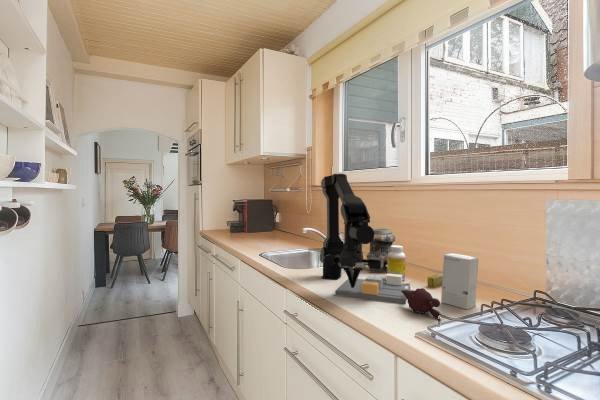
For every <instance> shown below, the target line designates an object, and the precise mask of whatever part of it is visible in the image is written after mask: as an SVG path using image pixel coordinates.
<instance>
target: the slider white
mask: <svg viewBox="0 0 600 400" xmlns="http://www.w3.org/2000/svg"><path fill="white" fill-rule="evenodd" d="M385 276H386V281H385V282H386V284H389V285H399V286H401V285H402V283H403V281H402V275H399V274H388V273H386V275H385Z"/></svg>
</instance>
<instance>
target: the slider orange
mask: <svg viewBox="0 0 600 400" xmlns="http://www.w3.org/2000/svg"><path fill="white" fill-rule="evenodd" d="M361 293H364V294H372V295H378V293H379V283H376V282H367V281H363V282H362V284H361Z"/></svg>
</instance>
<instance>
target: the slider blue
mask: <svg viewBox="0 0 600 400" xmlns="http://www.w3.org/2000/svg"><path fill="white" fill-rule="evenodd" d="M365 280H366V281H367V282H376V283H379V289H381V288H382V281H383V277H380V276H379V277H378V276H377V277H376V276H366V278H365Z"/></svg>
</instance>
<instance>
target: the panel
mask: <svg viewBox="0 0 600 400" xmlns="http://www.w3.org/2000/svg"><path fill="white" fill-rule="evenodd" d="M363 281H366V278H365V279H362V278H358V279H357V281H356V284H355V287H354V288H351V285H350V282H349V279H348V278H347V279H346V280H345V281H344V282H343V283H342V284H340V286H338V287H337V289H335V290H334V296H339V297H346V298H354V299H355V298H356V299H362V300H369V301H378V302H387V303H393V304H394V303H395V304H404V305H406V304H407V301H408V300H407V298H406V297H405V296H404V294H403V293H402V292H401V291H402V290H411V281H410V280H407V281H406V283H403V282H402V285H401V286H399V285H389V284H386V281H383V280H382V288H381V289H379V293H378V295H372V294H364V293H361V284H362V282H363Z"/></svg>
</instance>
